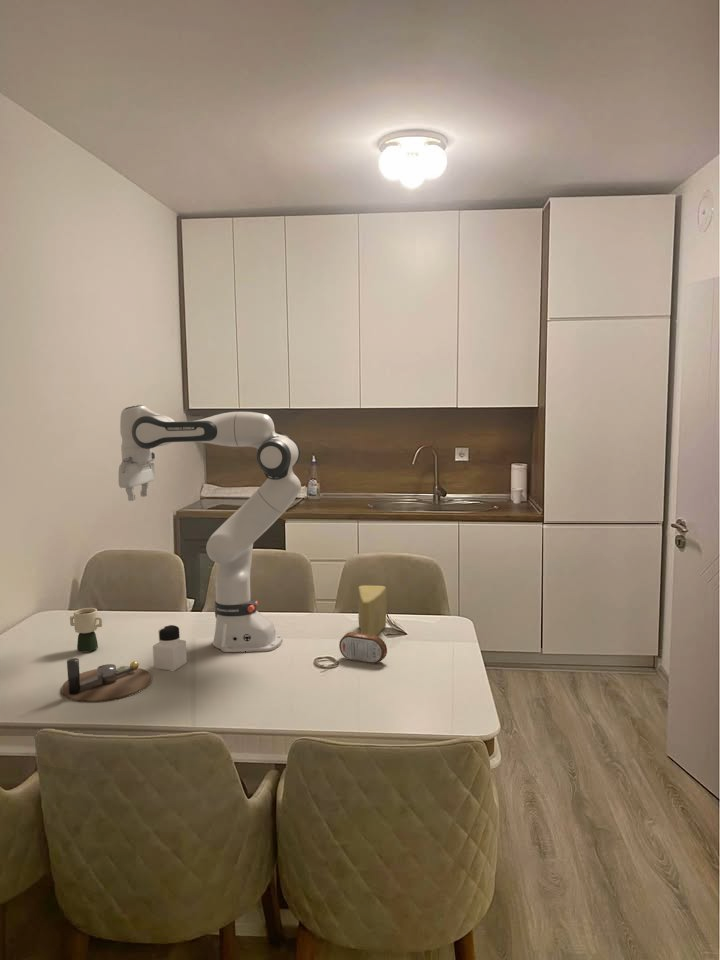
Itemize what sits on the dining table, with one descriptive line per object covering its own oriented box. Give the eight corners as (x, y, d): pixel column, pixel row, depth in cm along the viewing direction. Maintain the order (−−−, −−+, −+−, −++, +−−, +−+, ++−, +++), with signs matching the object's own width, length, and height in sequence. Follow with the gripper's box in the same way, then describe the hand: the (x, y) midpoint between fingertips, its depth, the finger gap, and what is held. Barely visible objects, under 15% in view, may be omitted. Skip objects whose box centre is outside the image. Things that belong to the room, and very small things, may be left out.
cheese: (381, 648, 237) (380, 602, 236) (350, 647, 239) (350, 601, 237) (386, 626, 259) (386, 584, 257) (359, 626, 260) (358, 584, 259)
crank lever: (141, 670, 218) (140, 641, 217) (78, 696, 200) (76, 664, 199) (130, 667, 221) (128, 638, 219) (66, 692, 203) (64, 660, 202)
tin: (387, 663, 224) (387, 635, 223) (383, 666, 222) (383, 639, 221) (342, 656, 231) (342, 629, 230) (338, 659, 228) (337, 633, 227)
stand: (165, 670, 221) (164, 666, 221) (128, 704, 197) (128, 699, 197) (89, 667, 224) (88, 663, 224) (44, 699, 201) (43, 695, 201)
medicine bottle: (187, 662, 227) (185, 624, 226) (174, 671, 220) (172, 631, 219) (167, 660, 229) (165, 622, 228) (153, 668, 223) (151, 629, 221)
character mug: (109, 647, 242) (106, 608, 240) (98, 654, 235) (95, 614, 234) (77, 646, 244) (75, 607, 242) (66, 653, 237) (63, 613, 235)
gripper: (131, 458, 231) (133, 503, 232) (157, 453, 251) (159, 494, 252) (112, 459, 232) (114, 503, 233) (139, 453, 252) (141, 494, 253)
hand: (138, 498), depth 243 cm, fingers open, 8 cm apart
